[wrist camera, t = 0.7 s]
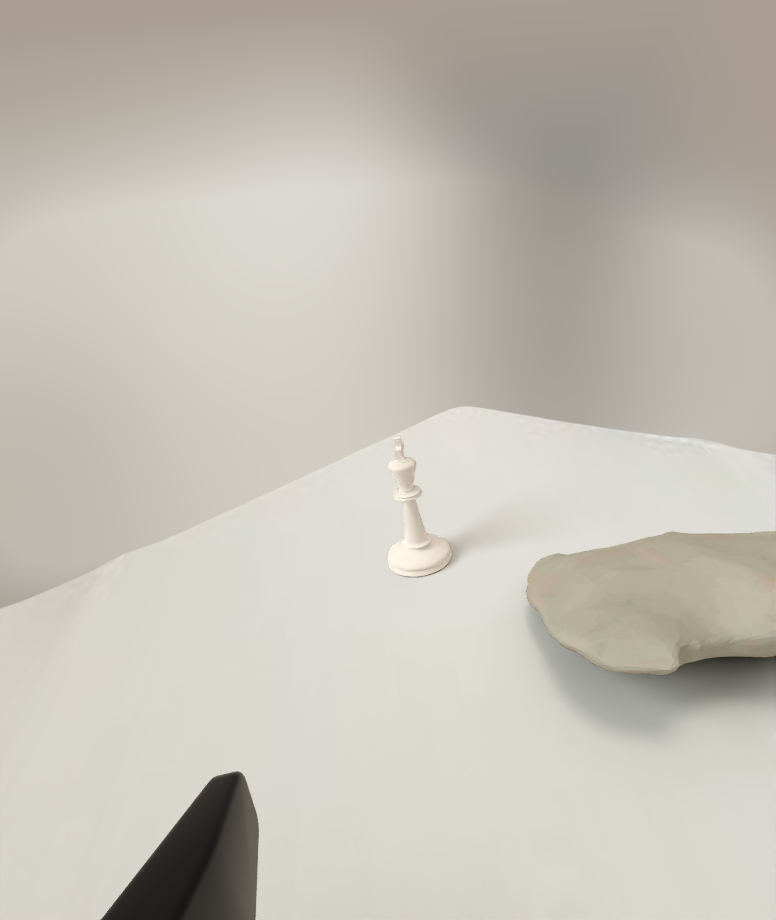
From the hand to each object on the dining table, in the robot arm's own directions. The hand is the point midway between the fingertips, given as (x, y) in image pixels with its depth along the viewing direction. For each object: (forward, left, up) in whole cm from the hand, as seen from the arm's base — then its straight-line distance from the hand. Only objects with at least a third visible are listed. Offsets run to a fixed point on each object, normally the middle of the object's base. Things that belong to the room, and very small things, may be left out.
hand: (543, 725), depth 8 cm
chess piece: (+31, +4, -16) cm, 35 cm away
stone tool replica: (+20, -15, -16) cm, 30 cm away
